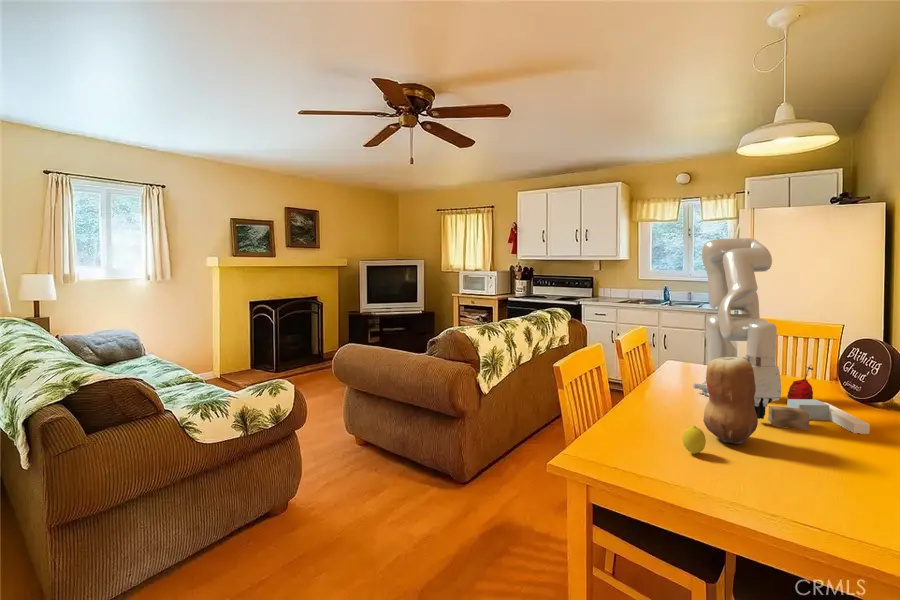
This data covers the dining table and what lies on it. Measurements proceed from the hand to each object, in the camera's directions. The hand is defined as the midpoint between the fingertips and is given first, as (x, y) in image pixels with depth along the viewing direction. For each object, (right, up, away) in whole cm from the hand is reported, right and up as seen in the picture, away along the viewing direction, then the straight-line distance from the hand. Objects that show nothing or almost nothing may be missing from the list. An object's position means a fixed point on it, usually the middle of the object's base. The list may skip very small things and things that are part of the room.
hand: (758, 417), depth 140 cm
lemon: (-32, -5, -20) cm, 38 cm away
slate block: (+20, -1, +6) cm, 21 cm away
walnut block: (+8, -2, -1) cm, 9 cm away
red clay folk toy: (+27, 0, +17) cm, 32 cm away
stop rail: (+26, -1, 0) cm, 26 cm away
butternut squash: (-17, -4, -13) cm, 22 cm away
